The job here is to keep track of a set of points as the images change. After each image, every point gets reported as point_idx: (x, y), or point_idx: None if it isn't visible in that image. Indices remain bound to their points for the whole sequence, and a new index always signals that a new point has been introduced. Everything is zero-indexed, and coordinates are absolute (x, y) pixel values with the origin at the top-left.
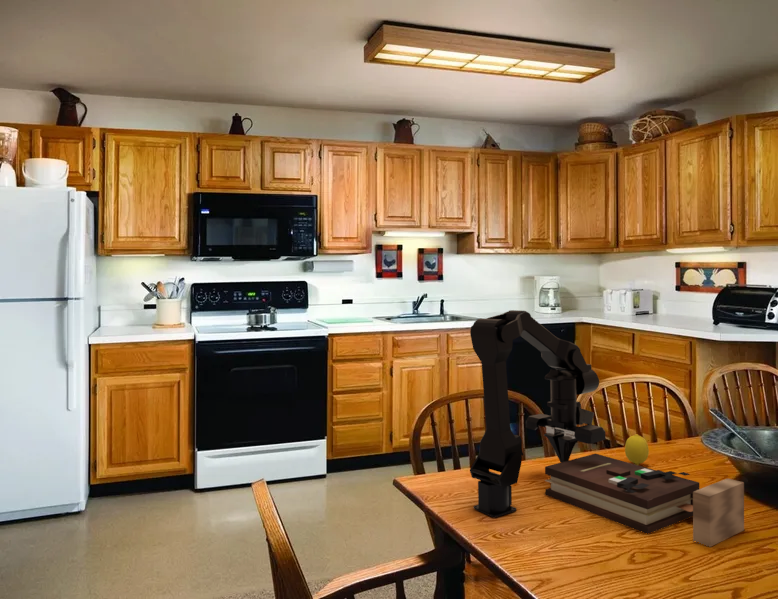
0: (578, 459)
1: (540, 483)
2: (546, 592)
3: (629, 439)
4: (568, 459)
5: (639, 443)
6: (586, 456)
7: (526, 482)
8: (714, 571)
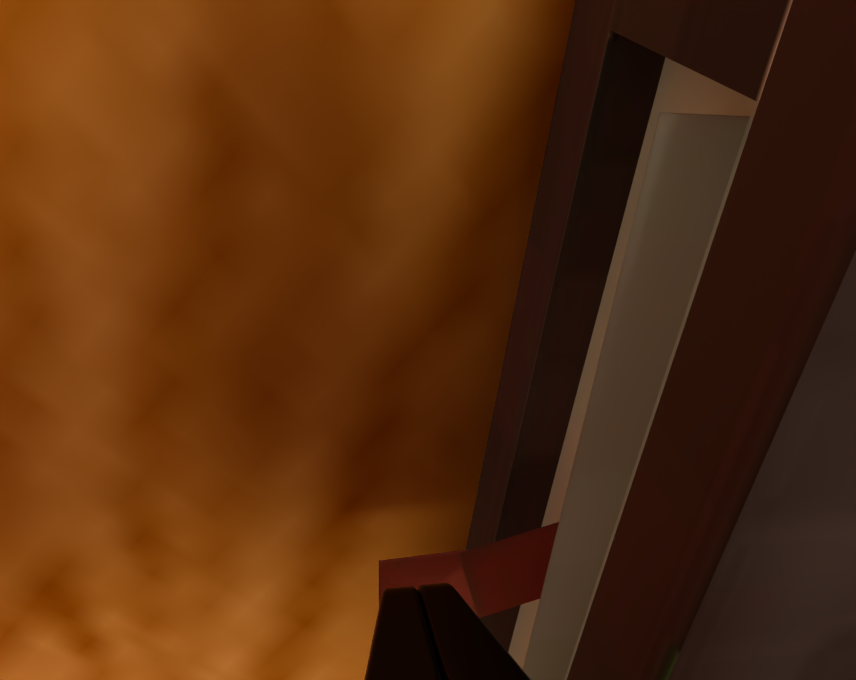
0: (748, 651)
1: (163, 577)
2: None
3: None
4: (506, 664)
5: None
6: (826, 393)
7: (41, 661)
8: None
